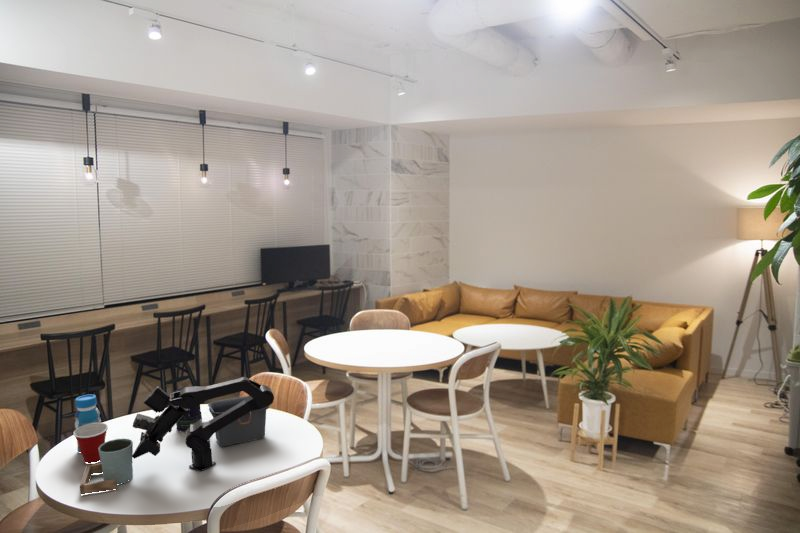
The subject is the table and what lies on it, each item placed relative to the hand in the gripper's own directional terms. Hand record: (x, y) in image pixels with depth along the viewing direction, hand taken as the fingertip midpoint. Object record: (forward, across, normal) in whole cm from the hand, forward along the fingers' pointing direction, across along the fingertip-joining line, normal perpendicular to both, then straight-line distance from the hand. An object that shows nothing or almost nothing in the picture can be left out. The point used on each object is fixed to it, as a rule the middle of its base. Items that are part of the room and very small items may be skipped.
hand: (133, 457), depth 195 cm
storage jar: (-8, -38, +17) cm, 42 cm away
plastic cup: (+15, -19, -5) cm, 25 cm away
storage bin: (-21, -17, +30) cm, 40 cm away
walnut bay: (+12, 0, -2) cm, 12 cm away
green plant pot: (+8, 0, +2) cm, 9 cm away
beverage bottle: (+17, -30, -7) cm, 35 cm away
